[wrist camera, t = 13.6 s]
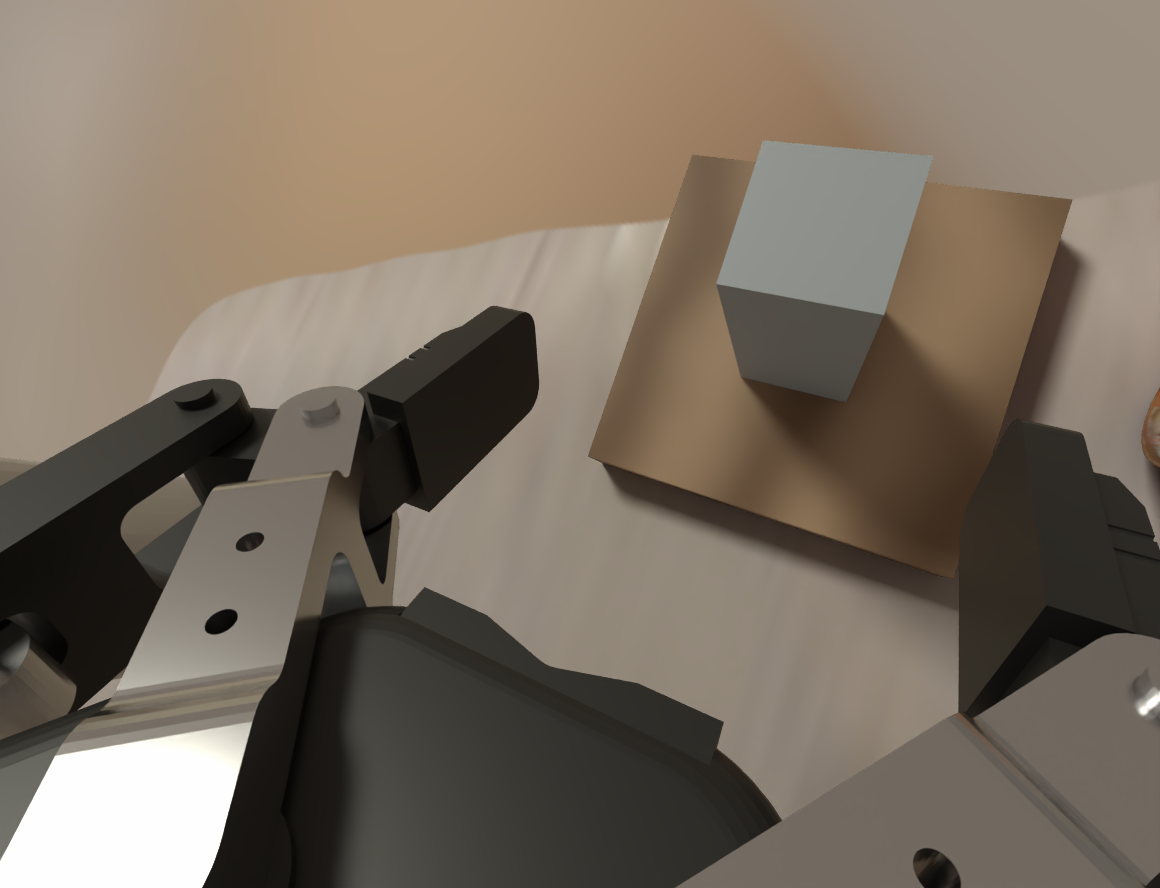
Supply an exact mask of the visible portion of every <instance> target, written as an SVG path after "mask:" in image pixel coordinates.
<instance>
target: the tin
mask: <svg viewBox="0 0 1160 888" xmlns="http://www.w3.org/2000/svg"><path fill="white" fill-rule="evenodd" d="M1141 443H1142V449H1143V452H1144V455H1145V456H1146V458H1147V459H1148V461H1149V462H1150V463H1151V464H1152V465H1154V466H1156V467H1157V468H1159V469H1160V389H1159V390H1158V392H1157V394H1156V395H1155V397H1154V399H1153V401H1152V403H1151V405H1150V408H1149V411H1148V413H1147V416H1146V419H1145V421H1144V425H1143V430H1142V439H1141Z"/></svg>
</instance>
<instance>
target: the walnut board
mask: <svg viewBox="0 0 1160 888" xmlns="http://www.w3.org/2000/svg"><path fill="white" fill-rule="evenodd" d="M755 164H756V162H749V161H741V160H733V159H724V158H716V157H707V156H699V155H692V158H691V161H690V163H689V166H688V169H687V172H686V175H685V178H684V181H683V184H682V187H681V189H680V192H679V195H678V198H677V201H676V204H675V207H674V210H673V213H672V215H671V218H670V221H669V224H668V227H667V230H666V233H665V236H664V238H663V241H662V244H661V247H660V250H659V253H658V256H657V259H656V261H655V264H654V267H653V270H652V273H651V276H650V279H649V282H648V285H647V287H646V290H645V293H644V296H643V299H642V302H641V305H640V308H639V310H638V313H637V316H636V319H635V322H634V325H633V328H632V331H631V334H630V336H629V339H628V342H627V345H626V348H625V351H624V354H623V357H622V359H621V362H620V365H619V368H618V371H617V374H616V377H615V380H614V383H613V385H612V388H611V391H610V394H609V397H608V400H607V403H606V406H605V408H604V411H603V414H602V417H601V420H600V423H599V426H598V429H597V431H596V434H595V437H594V440H593V443H592V446H591V449H590V452H589V455H588V457H590V458H593V459H595V460H597V461H599V462H602V463H605V464H608V465H611V466H614V467H617V468H620V469H623V470H625V471H628V472H631V473H634V474H637V475H640V476H643V477H646V478H649V479H652V480H655V481H658V482H661V483H664V484H667V485H670V486H673V487H676V488H679V489H682V490H685V491H688V492H691V493H694V494H697V495H700V496H703V497H706V498H709V499H712V500H715V501H718V502H721V503H724V504H727V505H730V506H733V507H736V508H739V509H742V510H745V511H747V512H750V513H753V514H756V515H759V516H762V517H765V518H768V519H771V520H774V521H777V522H780V523H783V524H786V525H789V526H792V527H795V528H798V529H801V530H804V531H807V532H810V533H813V534H816V535H819V536H822V537H825V538H828V539H831V540H834V541H837V542H840V543H843V544H846V545H849V546H852V547H855V548H858V549H861V550H864V551H867V552H870V553H872V554H875V555H878V556H881V557H884V558H887V559H890V560H893V561H896V562H899V563H902V564H905V565H908V566H911V567H914V568H917V569H920V570H923V571H926V572H929V573H932V574H935V575H938V576H942V577H947V578H952V579H954V576H955V573H956V570H957V566H958V563H959V537H960V529H961V524H962V520H963V516H964V513H965V510H966V507H967V505H968V503H969V500H970V498H971V496H972V494H973V492H974V491H975V489H976V487H977V485H978V483H979V481H980V479H981V477H982V476H983V474H984V472H985V470H986V468H987V466H988V464H989V462H990V461H991V458H992V455H993V452H994V448H995V445H996V442H997V439H998V436H999V432H1000V429H1001V426H1002V423H1003V420H1004V416H1005V413H1006V410H1007V407H1008V404H1009V401H1010V397H1011V394H1012V391H1013V388H1014V385H1015V381H1016V378H1017V375H1018V372H1019V369H1020V365H1021V362H1022V359H1023V356H1024V353H1025V349H1026V346H1027V343H1028V340H1029V337H1030V334H1031V330H1032V327H1033V324H1034V321H1035V318H1036V314H1037V311H1038V308H1039V305H1040V302H1041V298H1042V295H1043V292H1044V289H1045V286H1046V282H1047V279H1048V276H1049V273H1050V270H1051V266H1052V263H1053V260H1054V257H1055V254H1056V251H1057V247H1058V244H1059V241H1060V238H1061V235H1062V231H1063V228H1064V225H1065V222H1066V219H1067V215H1068V212H1069V209H1070V206H1071V203H1072V200H1071V199H1063V198H1054V197H1046V196H1038V195H1029V194H1021V193H1012V192H1003V191H995V190H987V189H978V188H969V187H961V186H952V185H944V184H935V183H927V182H925V185H924V188H923V191H922V195H921V198H920V201H919V204H918V207H917V211H916V214H915V217H914V220H913V223H912V227H911V230H910V233H909V236H908V240H907V243H906V246H905V249H904V252H903V256H902V259H901V262H900V265H899V268H898V272H897V275H896V278H895V281H894V284H893V288H892V291H891V294H890V297H889V301H888V304H887V307H886V310H885V313H884V316H883V318H882V321H881V323H880V325H879V328H878V330H877V332H876V335H875V337H874V339H873V342H872V344H871V346H870V348H869V351H868V353H867V355H866V358H865V360H864V362H863V365H862V367H861V369H860V372H859V374H858V376H857V378H856V381H855V383H854V385H853V388H852V390H851V392H850V395H849V397H848V399H847V402H842V401H838V400H834V399H830V398H826V397H822V396H817V395H813V394H809V393H805V392H801V391H797V390H793V389H788V388H784V387H780V386H776V385H772V384H768V383H764V382H759V381H755V380H751V379H747V378H743V377H741V376H740V372H739V368H738V365H737V361H736V357H735V353H734V349H733V346H732V342H731V338H730V334H729V331H728V327H727V323H726V319H725V315H724V312H723V308H722V304H721V300H720V296H719V293H718V289H717V285H716V283H717V280H718V277H719V274H720V271H721V268H722V265H723V262H724V259H725V255H726V252H727V249H728V246H729V243H730V240H731V237H732V234H733V231H734V228H735V225H736V222H737V219H738V216H739V213H740V210H741V207H742V204H743V201H744V198H745V194H746V191H747V188H748V185H749V182H750V179H751V176H752V173H753V170H754V167H755Z"/></svg>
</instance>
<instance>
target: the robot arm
mask: <svg viewBox="0 0 1160 888" xmlns="http://www.w3.org/2000/svg"><path fill="white" fill-rule="evenodd" d="M538 390H539V375H538V361H537V348H536V334H535V324H534V320H533V318H532V316H531V315H530V314H529V313H527V312H522V311H517V310H513V309H508V308H503V307H499V306H491V307H489V308H487V309H486V310H484V311H483V312H482V313H480V314H479V315H477V316H476V317H474V318H473V319H471V320H470V321H469V322H467V323H466V324H464V325H463V326H461V327H458V328H455V329H453V330H450V331H447V332H444V333H442V334H440V335H439V336H437V337H436V338H434V339H433V340H431V341H430V342H428V343H427V344H426V345H424V348H423V349H422V348H420V349H418V350H417V351H415V352H414V353H412V354H411V355H409V359H406V358H405V359H403V360H402V361H401V362H399V363H398V364H396V365H395V366H393V367H392V368H390V369H389V370H387V371H386V372H384V373H383V374H381V375H380V376H378V377H377V378H376V379H374V380H373V381H371V382H370V383H368V384H367V385H365V386H364V387H362V388H361V389H359V390H358V391H356V390H354V389H351V388H347V387H339V386H331V387H322V388H317V389H312V390H309V391H306V392H303V393H301V394H298V395H296V396H294V397H292V398H291V399H289V400H287V401H286V402H285V403H283V404H282V405H281V406H280V407H279V408H278V409H262V408H250V406H249V404H248V401H247V399H246V397H245V395H244V392H243V390H242V388H241V386H240V385H239V384H238V383H236V382H234V381H231V380H226V379H209V380H202V381H197V382H193V383H189V384H186V385H183V386H181V387H178V388H176V389H174V390H172V391H170V392H168V393H166V394H164V395H162V396H161V397H159V398H157V399H155V400H153V401H152V402H150V403H148V404H146V405H144V406H143V407H141V408H139V409H137V410H135V411H134V412H132V413H130V414H128V415H127V416H125V417H123V418H121V419H119V420H118V421H116V422H114V423H112V424H110V425H109V426H107V427H105V428H103V429H101V430H100V431H98V432H96V433H94V434H93V435H91V436H89V437H87V438H85V439H83V440H82V441H80V442H78V443H76V444H74V445H73V446H71V447H69V448H67V449H65V450H64V451H62V452H60V453H58V454H56V455H55V456H53V457H51V458H49V459H48V460H46V461H44V462H36V461H27V460H18V459H8V458H0V888H1160V550H1159V547H1158V544H1157V542H1154V541H1153V539H1154V537H1155V535H1154V532H1153V529H1152V526H1151V524H1150V521H1149V518H1148V515H1147V512H1146V509H1145V507H1144V506H1143V505H1142V504H1141V503H1140V502H1139V500H1138V499H1137V498H1136V497H1135V496H1134V495H1133V494H1132V493H1131V492H1130V491H1129V490H1128V489H1127V488H1126V487H1125V486H1124V485H1123V484H1122V483H1121V482H1120V481H1119V480H1118V478H1116V477H1111V476H1107V475H1103V474H1099V473H1094V472H1093V469H1092V465H1091V461H1090V458H1089V454H1088V450H1087V446H1086V442H1085V439H1084V436H1083V434H1082V433H1080V432H1076V431H1072V430H1067V429H1062V428H1058V427H1053V426H1048V425H1044V424H1039V423H1034V422H1030V421H1025V420H1021V419H1017V420H1015V421H1014V422H1013V423H1012V424H1011V425H1010V426H1009V428H1008V429H1007V431H1006V433H1005V434H1004V436H1003V438H1002V440H1001V442H1000V444H999V446H998V447H997V449H996V451H995V453H994V455H993V457H992V459H991V461H990V462H989V464H988V466H987V468H986V470H985V472H984V474H983V476H982V477H981V479H980V481H979V483H978V485H977V487H976V489H975V491H974V492H973V494H972V496H971V498H970V500H969V503H968V505H967V507H966V510H965V513H964V516H963V520H962V524H961V529H960V537H959V707H958V713H956V714H954V715H952V716H950V717H948V718H946V719H944V720H943V721H941V722H939V723H938V724H936V725H934V726H933V727H931V728H930V729H928V730H926V731H925V732H923V733H922V734H920V735H918V736H917V737H915V738H914V739H912V740H910V741H909V742H907V743H906V744H904V745H902V746H901V747H899V748H898V749H896V750H894V751H893V752H891V753H890V754H888V755H886V756H885V757H883V758H882V759H880V760H878V761H877V762H875V763H874V764H872V765H870V766H869V767H867V768H866V769H864V770H862V771H861V772H859V773H858V774H856V775H854V776H853V777H851V778H850V779H848V780H846V781H845V782H843V783H842V784H840V785H838V786H837V787H835V788H834V789H832V790H830V791H829V792H827V793H826V794H824V795H822V796H821V797H819V798H818V799H816V800H815V801H813V802H811V803H810V804H808V805H807V806H805V807H803V808H802V809H800V810H799V811H797V812H795V813H794V814H792V815H791V816H789V817H787V818H786V819H784V820H783V821H782V820H781V818H780V817H779V815H778V813H777V812H776V810H775V809H774V807H773V806H772V804H771V803H770V802H769V800H768V799H767V798H766V797H765V795H764V794H763V793H762V792H761V791H760V789H759V788H758V787H757V786H756V784H755V783H754V782H753V781H752V780H751V779H750V778H749V777H748V776H747V775H746V774H745V773H744V772H743V771H742V770H741V769H740V768H739V767H738V766H737V765H736V764H735V763H734V762H733V761H732V760H730V759H729V758H728V757H727V756H726V755H724V754H723V753H722V752H721V751H719V750H718V749H717V745H718V742H719V738H720V734H721V730H722V726H723V723H724V722H722V721H720V720H718V719H716V718H713V717H711V716H709V715H707V714H705V713H702V712H700V711H698V710H696V709H693V708H691V707H689V706H687V705H685V704H682V703H680V702H678V701H676V700H674V699H671V698H669V697H667V696H665V695H662V694H660V693H658V692H656V691H654V690H651V689H649V688H647V687H645V686H642V685H640V684H638V683H633V682H628V681H623V680H617V679H612V678H607V677H601V676H596V675H591V674H585V673H580V672H575V671H569V670H564V669H559V668H554V667H551V666H548V665H546V664H544V663H543V662H541V661H540V660H539V659H538V658H536V657H535V656H534V655H533V654H532V653H531V652H529V651H528V650H527V649H526V648H525V647H524V646H522V645H521V644H520V643H519V642H518V641H516V640H515V639H514V638H513V637H512V636H511V635H509V634H508V633H507V632H506V631H505V630H504V629H502V628H501V627H500V626H499V625H498V624H497V623H495V622H494V621H493V620H492V619H491V618H489V617H488V616H487V615H485V614H483V613H481V612H478V611H476V610H474V609H472V608H470V607H467V606H465V605H463V604H461V603H459V602H456V601H454V600H452V599H450V598H447V597H445V596H443V595H441V594H439V593H436V592H434V591H432V590H430V589H428V588H425V587H424V589H423V590H422V591H421V592H420V593H419V594H418V595H417V596H416V598H415V599H414V600H413V601H412V602H411V603H410V604H409V605H408V607H403V606H393V589H394V578H395V567H396V556H397V546H398V535H399V517H398V514H397V509H398V508H399V507H400V506H401V505H402V504H403V503H407V504H410V505H412V506H415V507H417V508H420V509H422V510H425V511H427V512H430V511H431V510H432V509H433V508H434V507H435V506H436V505H437V504H438V503H439V502H440V501H441V500H442V499H443V498H444V497H445V496H446V495H447V494H448V493H449V492H450V491H451V490H452V489H453V488H454V487H455V486H456V485H457V484H458V483H459V482H460V481H461V480H462V479H463V478H464V477H465V476H466V475H467V474H468V473H469V472H470V471H471V470H472V469H473V468H474V467H475V466H476V465H477V464H478V463H479V462H480V461H481V460H482V459H483V458H484V457H485V456H486V455H487V454H488V453H489V452H490V451H491V450H492V449H493V448H494V447H495V446H496V445H497V444H498V443H499V442H500V441H501V440H502V439H503V438H504V437H505V436H506V435H507V434H508V433H509V432H510V431H511V430H512V429H513V428H514V427H515V426H516V425H517V424H518V423H519V422H520V421H521V420H522V419H523V418H524V417H525V416H526V415H527V414H528V413H529V412H530V411H531V409H532V408H533V406H534V404H535V402H536V399H537V395H538ZM182 473H184V475H185V477H186V478H182V477H178V476H180V475H181V474H182ZM119 678H122V679H121V681H120V683H119V685H118V687H117V689H116V691H115V693H114V695H113V697H112V698H109V699H107V700H104V701H101V702H99V703H96V704H93V705H91V706H88V707H85V708H83V709H80V710H78V709H79V708H80V707H82V706H83V705H84V704H85V703H86V702H87V701H88V700H89V699H91V698H92V697H93V696H94V695H95V694H96V693H97V692H99V691H100V690H101V689H102V688H103V687H104V686H105V685H107V684H108V683H109V682H110V681H111V680H114V679H119Z"/></svg>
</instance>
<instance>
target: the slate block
mask: <svg viewBox="0 0 1160 888" xmlns="http://www.w3.org/2000/svg"><path fill="white" fill-rule="evenodd" d="M932 159H933V156H924V155H915V154H903V153H893V152H881V151H871V150H861V149H850V148H839V147H828V146H817V145H807V144H795V143H784V142H774V141H763V143H762V146H761V149H760V152H759V155H758V158H757V161H756V164H755V167H754V170H753V173H752V176H751V179H750V182H749V185H748V188H747V191H746V194H745V198H744V201H743V204H742V207H741V210H740V213H739V216H738V219H737V222H736V225H735V228H734V231H733V234H732V237H731V240H730V243H729V246H728V249H727V252H726V255H725V259H724V262H723V265H722V268H721V271H720V274H719V277H718V280H717V283H716V285H717V289H718V293H719V296H720V300H721V304H722V308H723V312H724V315H725V319H726V323H727V327H728V331H729V334H730V338H731V342H732V346H733V349H734V353H735V357H736V361H737V365H738V368H739V372H740V376H741V377H743V378H747V379H751V380H755V381H759V382H764V383H768V384H772V385H776V386H780V387H784V388H788V389H793V390H797V391H801V392H805V393H809V394H813V395H817V396H822V397H826V398H830V399H834V400H838V401H842V402H847V399H848V397H849V395H850V392H851V390H852V388H853V385H854V383H855V381H856V378H857V376H858V374H859V372H860V369H861V367H862V365H863V362H864V360H865V358H866V355H867V353H868V351H869V348H870V346H871V344H872V342H873V339H874V337H875V335H876V332H877V330H878V328H879V325H880V323H881V321H882V318H883V316H884V313H885V310H886V307H887V304H888V301H889V297H890V294H891V291H892V288H893V284H894V281H895V278H896V275H897V272H898V268H899V265H900V262H901V259H902V256H903V252H904V249H905V246H906V243H907V240H908V236H909V233H910V230H911V227H912V223H913V220H914V217H915V214H916V211H917V207H918V204H919V201H920V198H921V195H922V191H923V188H924V185H925V182H926V179H927V175H928V172H929V169H930V166H931V162H932Z"/></svg>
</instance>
